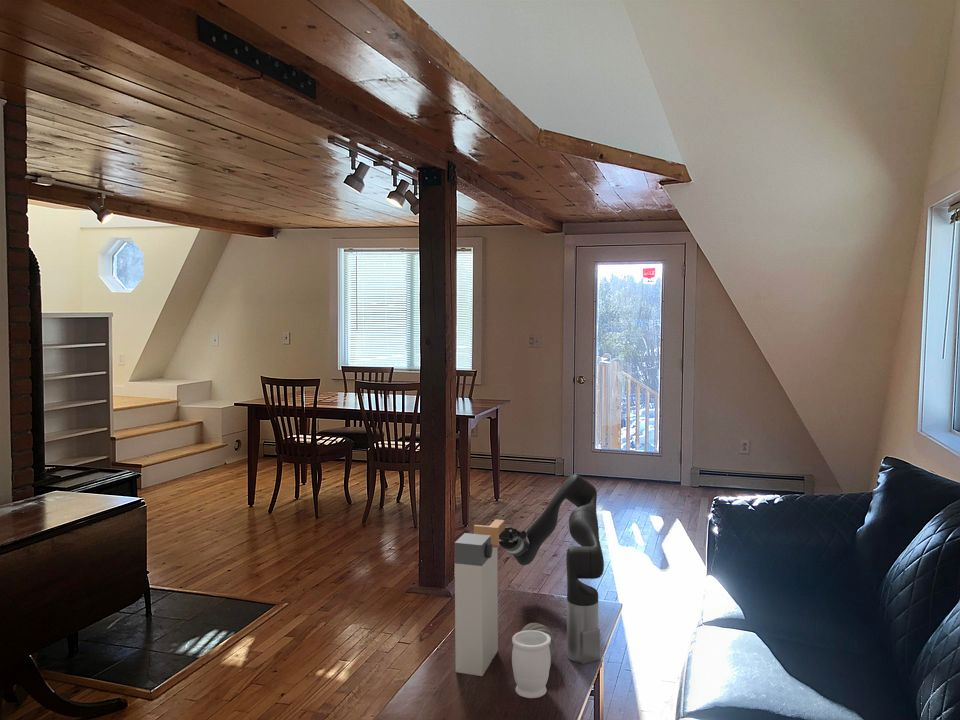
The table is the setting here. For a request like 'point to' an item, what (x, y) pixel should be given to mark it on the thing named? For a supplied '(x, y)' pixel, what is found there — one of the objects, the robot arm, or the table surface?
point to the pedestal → (475, 603)
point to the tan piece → (491, 530)
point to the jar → (531, 662)
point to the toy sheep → (546, 630)
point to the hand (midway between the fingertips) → (500, 529)
